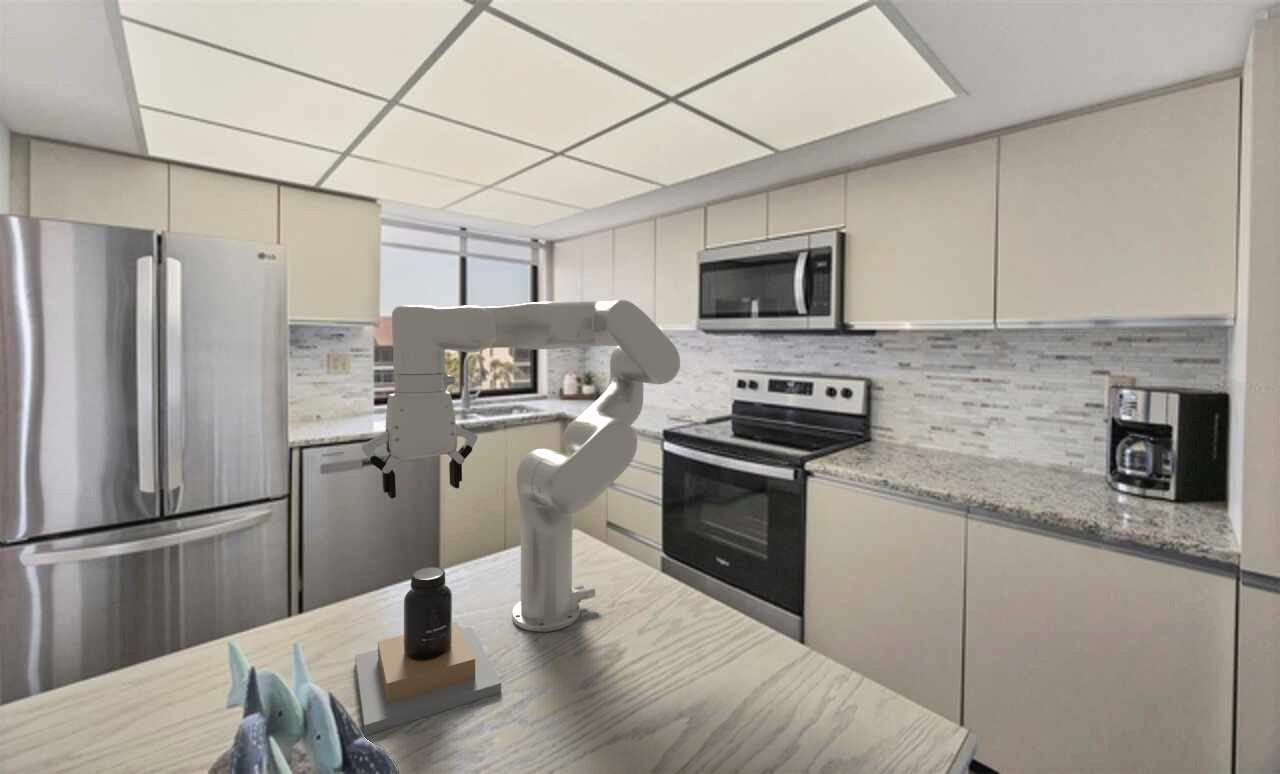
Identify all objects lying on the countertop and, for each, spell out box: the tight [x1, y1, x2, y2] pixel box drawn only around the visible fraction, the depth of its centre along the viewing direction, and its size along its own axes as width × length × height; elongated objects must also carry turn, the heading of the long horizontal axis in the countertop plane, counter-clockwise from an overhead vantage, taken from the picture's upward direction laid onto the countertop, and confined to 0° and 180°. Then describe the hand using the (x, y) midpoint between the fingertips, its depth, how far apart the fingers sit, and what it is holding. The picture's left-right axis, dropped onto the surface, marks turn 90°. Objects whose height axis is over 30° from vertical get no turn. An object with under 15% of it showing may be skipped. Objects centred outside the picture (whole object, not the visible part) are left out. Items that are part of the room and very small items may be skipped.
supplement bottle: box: [403, 566, 453, 660], centre depth 83 cm, size 7×7×12 cm
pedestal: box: [354, 621, 502, 737], centre depth 83 cm, size 18×18×4 cm
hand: (424, 491), depth 87 cm, fingers open, 9 cm apart
